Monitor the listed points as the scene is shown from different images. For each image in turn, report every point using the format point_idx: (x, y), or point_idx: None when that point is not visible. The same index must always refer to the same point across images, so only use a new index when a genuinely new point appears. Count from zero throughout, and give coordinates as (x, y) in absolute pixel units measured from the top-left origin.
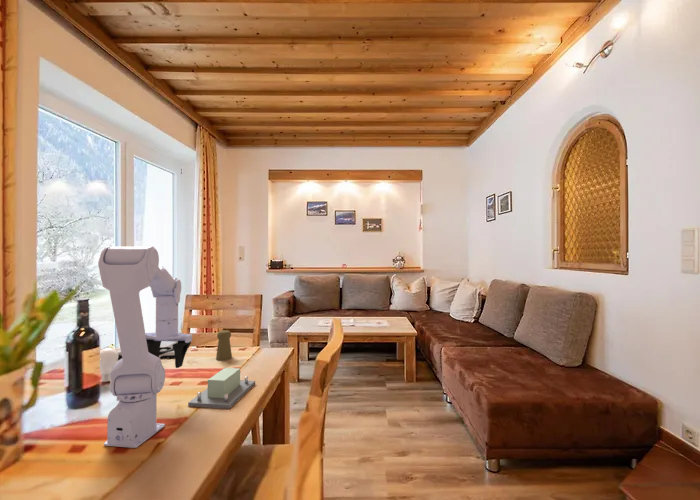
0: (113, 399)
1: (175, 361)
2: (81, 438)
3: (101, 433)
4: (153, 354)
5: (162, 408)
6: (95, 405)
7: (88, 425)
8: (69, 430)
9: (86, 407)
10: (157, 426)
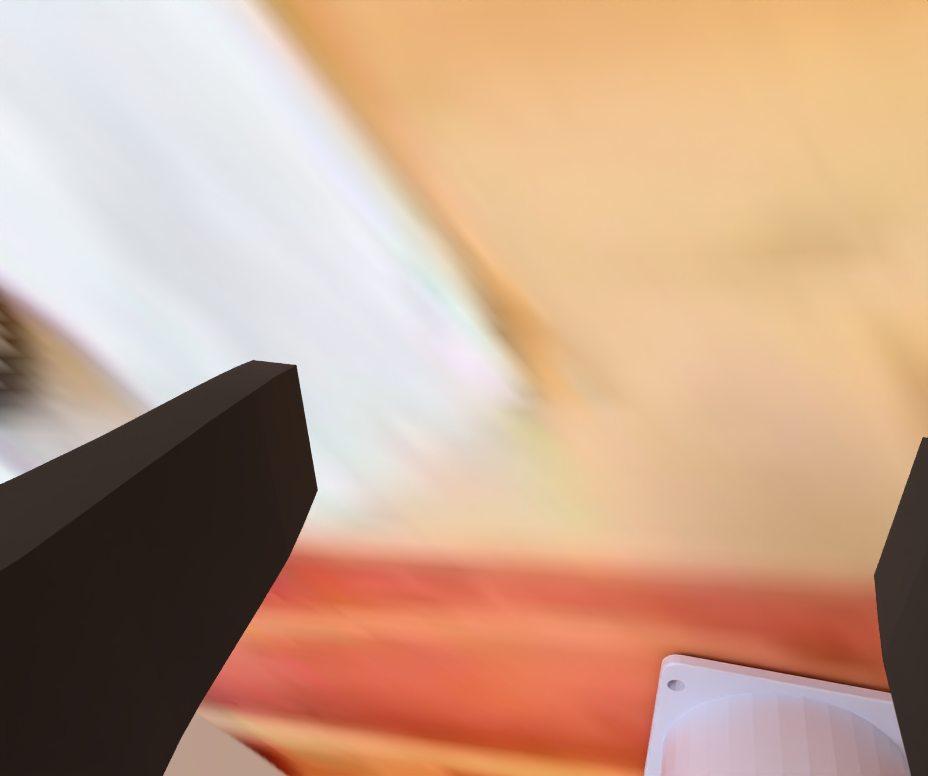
0: (73, 244)
1: (916, 753)
2: (438, 734)
3: (509, 709)
4: (155, 679)
5: (735, 421)
6: (61, 362)
7: (333, 623)
8: (282, 658)
9: (37, 395)
10: (900, 737)
